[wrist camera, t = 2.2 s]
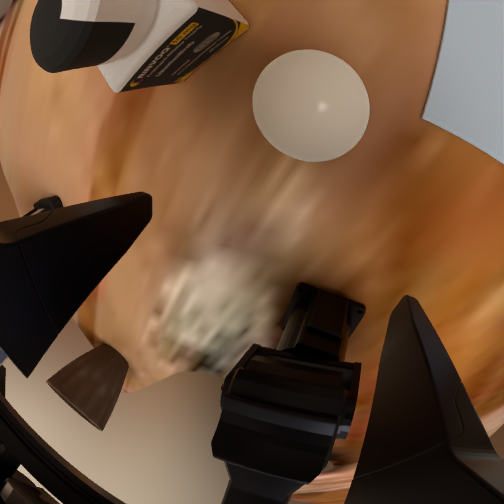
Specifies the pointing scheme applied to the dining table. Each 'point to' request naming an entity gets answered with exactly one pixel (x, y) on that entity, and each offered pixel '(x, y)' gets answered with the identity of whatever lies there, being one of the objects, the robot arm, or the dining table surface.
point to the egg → (311, 105)
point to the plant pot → (92, 384)
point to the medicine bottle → (132, 37)
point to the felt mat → (471, 75)
